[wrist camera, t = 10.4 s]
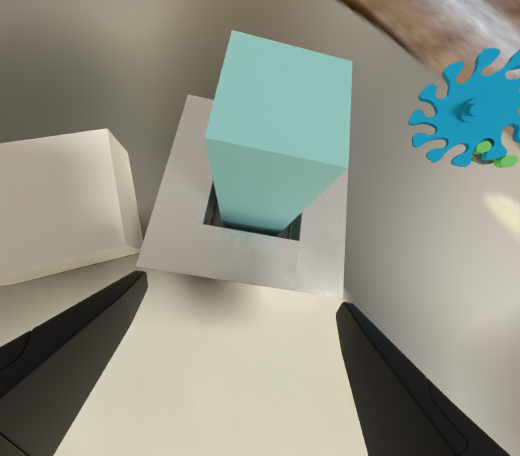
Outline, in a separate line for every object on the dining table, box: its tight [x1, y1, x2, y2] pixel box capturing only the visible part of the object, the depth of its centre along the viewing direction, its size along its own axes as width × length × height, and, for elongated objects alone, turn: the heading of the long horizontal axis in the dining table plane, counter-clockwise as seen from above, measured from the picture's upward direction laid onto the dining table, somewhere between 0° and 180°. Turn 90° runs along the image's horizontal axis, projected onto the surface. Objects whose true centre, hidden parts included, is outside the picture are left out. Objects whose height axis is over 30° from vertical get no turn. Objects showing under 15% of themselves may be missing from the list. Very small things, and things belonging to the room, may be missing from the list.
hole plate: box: [136, 94, 348, 298], centre depth 17 cm, size 14×14×3 cm
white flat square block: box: [0, 129, 143, 285], centre depth 15 cm, size 9×9×3 cm
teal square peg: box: [205, 30, 352, 234], centre depth 13 cm, size 5×5×11 cm
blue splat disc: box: [408, 48, 520, 168], centre depth 21 cm, size 11×6×10 cm
